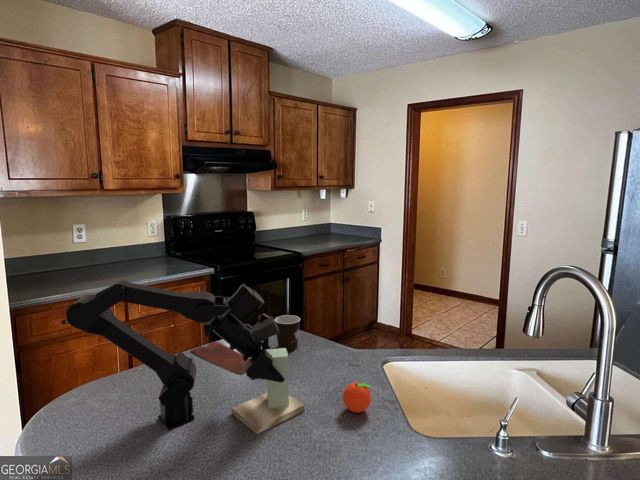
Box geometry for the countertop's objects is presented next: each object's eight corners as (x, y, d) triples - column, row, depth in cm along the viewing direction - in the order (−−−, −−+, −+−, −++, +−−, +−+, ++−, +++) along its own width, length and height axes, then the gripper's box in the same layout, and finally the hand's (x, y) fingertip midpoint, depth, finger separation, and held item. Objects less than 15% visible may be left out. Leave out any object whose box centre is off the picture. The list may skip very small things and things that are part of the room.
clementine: (370, 401, 105) (370, 375, 104) (378, 416, 98) (379, 389, 97) (340, 404, 104) (340, 378, 103) (346, 419, 97) (346, 392, 96)
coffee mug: (285, 355, 132) (285, 325, 131) (270, 347, 139) (269, 319, 137) (312, 345, 140) (312, 317, 139) (296, 338, 147) (296, 311, 145)
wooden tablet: (189, 353, 136) (188, 348, 135) (214, 344, 143) (214, 339, 143) (237, 379, 118) (237, 373, 118) (263, 367, 125) (263, 362, 125)
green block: (268, 408, 99) (267, 358, 97) (267, 397, 104) (266, 349, 102) (288, 406, 100) (288, 356, 98) (286, 395, 105) (285, 347, 103)
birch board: (257, 434, 91) (257, 428, 91) (232, 413, 99) (231, 407, 99) (304, 410, 101) (304, 404, 100) (278, 393, 109) (277, 388, 109)
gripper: (260, 321, 88) (310, 364, 92) (256, 297, 106) (298, 334, 110) (224, 358, 88) (276, 400, 92) (226, 328, 106) (269, 364, 110)
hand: (281, 371), depth 101 cm, fingers open, 9 cm apart
